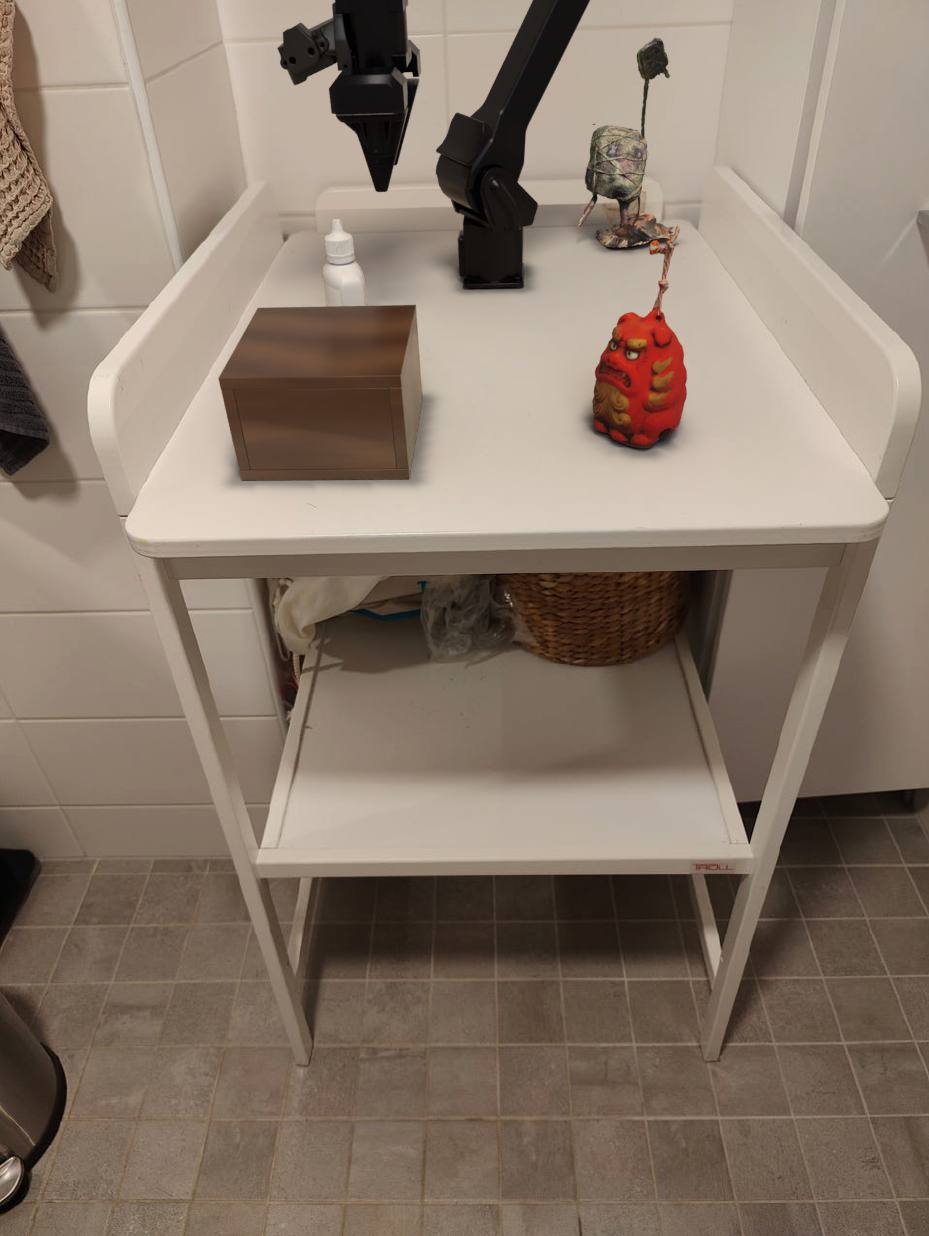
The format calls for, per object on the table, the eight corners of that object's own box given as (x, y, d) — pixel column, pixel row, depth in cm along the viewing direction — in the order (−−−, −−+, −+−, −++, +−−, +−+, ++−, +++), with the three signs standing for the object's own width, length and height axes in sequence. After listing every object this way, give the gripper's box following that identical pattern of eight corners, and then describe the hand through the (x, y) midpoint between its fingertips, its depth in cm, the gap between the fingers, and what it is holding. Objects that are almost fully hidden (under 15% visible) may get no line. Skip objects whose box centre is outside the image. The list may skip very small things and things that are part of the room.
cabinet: (275, 402, 79) (257, 307, 73) (422, 400, 78) (416, 304, 73) (240, 480, 69) (218, 378, 64) (409, 479, 68) (400, 375, 63)
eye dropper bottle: (322, 365, 84) (303, 230, 76) (336, 340, 88) (319, 209, 80) (369, 366, 83) (354, 230, 76) (380, 341, 88) (367, 209, 80)
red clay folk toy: (571, 425, 74) (580, 232, 64) (633, 398, 77) (651, 211, 67) (640, 462, 69) (660, 260, 59) (703, 432, 72) (732, 236, 62)
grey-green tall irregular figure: (574, 229, 111) (582, 36, 98) (668, 227, 110) (688, 33, 98) (578, 252, 105) (586, 49, 92) (677, 250, 104) (700, 45, 91)
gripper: (297, -28, 85) (319, 155, 95) (253, -3, 71) (285, 209, 81) (415, -32, 85) (426, 152, 95) (395, -8, 70) (410, 206, 80)
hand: (387, 177), depth 88 cm, fingers open, 9 cm apart
